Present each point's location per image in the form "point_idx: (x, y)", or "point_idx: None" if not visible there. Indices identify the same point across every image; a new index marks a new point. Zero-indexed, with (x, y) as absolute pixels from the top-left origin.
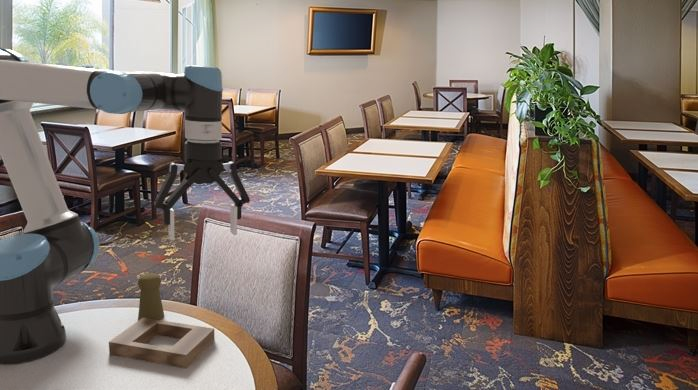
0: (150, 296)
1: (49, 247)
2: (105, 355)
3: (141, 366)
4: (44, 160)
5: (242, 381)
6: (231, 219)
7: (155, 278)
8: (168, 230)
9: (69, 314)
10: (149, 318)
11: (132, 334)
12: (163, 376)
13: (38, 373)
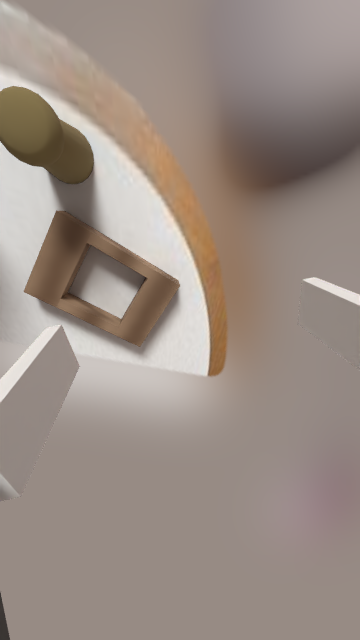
0: (51, 167)
1: None
2: None
3: (86, 322)
4: None
5: (196, 370)
6: (344, 317)
7: (45, 148)
8: (33, 344)
9: None
10: (69, 219)
11: (54, 276)
12: (115, 347)
13: None
